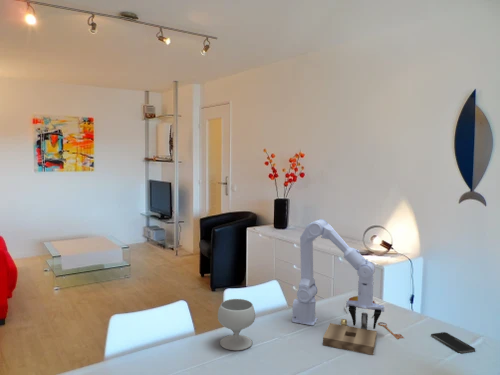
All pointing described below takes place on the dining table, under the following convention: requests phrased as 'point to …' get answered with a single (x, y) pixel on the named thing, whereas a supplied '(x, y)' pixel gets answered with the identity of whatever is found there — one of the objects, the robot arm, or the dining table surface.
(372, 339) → the hole block
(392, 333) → the key
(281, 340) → the dining table surface
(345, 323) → the short pin
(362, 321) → the long pin
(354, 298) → the sunglasses
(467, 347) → the phone
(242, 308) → the chalice
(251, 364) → the dining table surface
